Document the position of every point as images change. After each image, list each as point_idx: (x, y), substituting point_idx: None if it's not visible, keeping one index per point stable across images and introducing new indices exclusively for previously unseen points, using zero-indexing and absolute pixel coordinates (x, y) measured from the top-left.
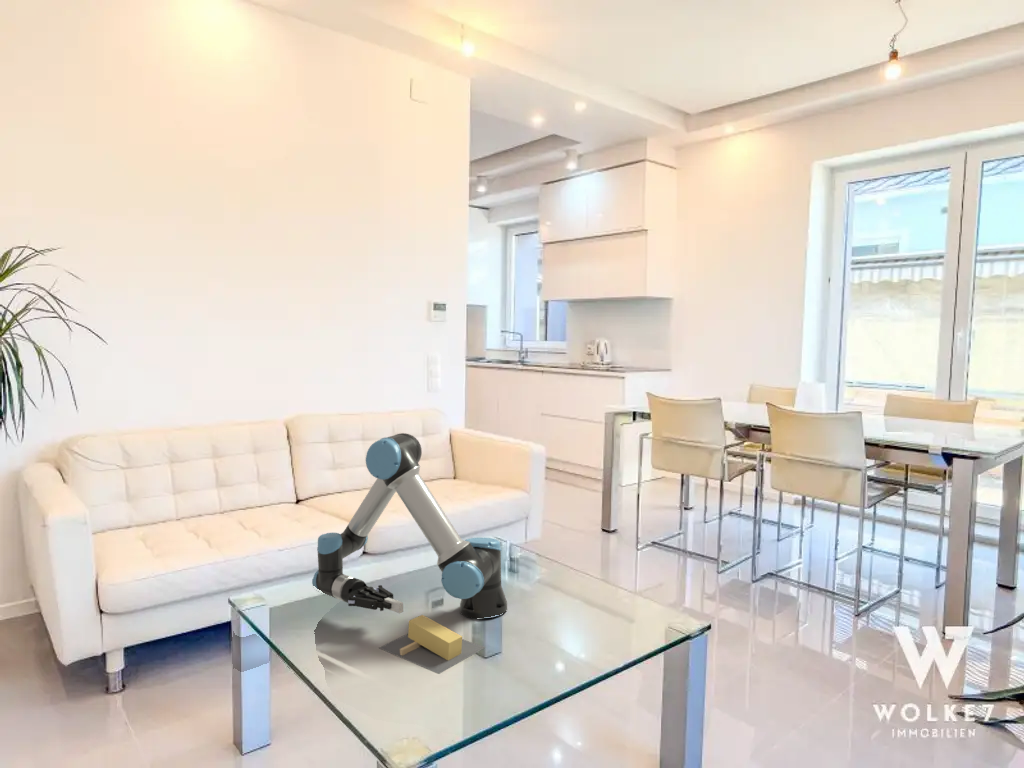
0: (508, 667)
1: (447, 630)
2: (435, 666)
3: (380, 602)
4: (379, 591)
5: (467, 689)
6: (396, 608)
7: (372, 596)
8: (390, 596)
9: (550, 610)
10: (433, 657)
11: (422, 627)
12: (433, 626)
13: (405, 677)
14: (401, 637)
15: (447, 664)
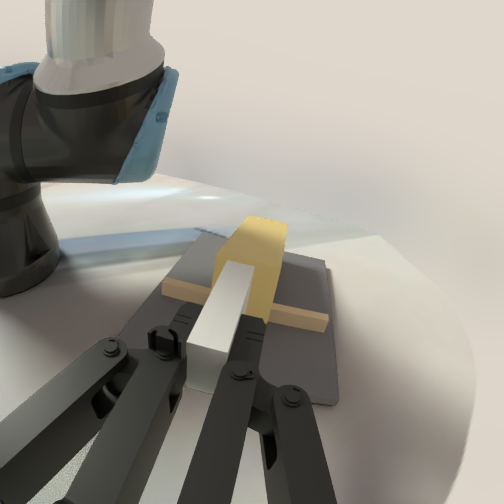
0: (237, 220)
1: (249, 224)
2: (310, 268)
3: (261, 376)
4: (2, 490)
5: (318, 240)
6: (246, 303)
7: (210, 482)
8: (127, 357)
9: None
10: (285, 278)
11: (281, 246)
12: (256, 236)
13: (363, 301)
14: None
15: (291, 258)
